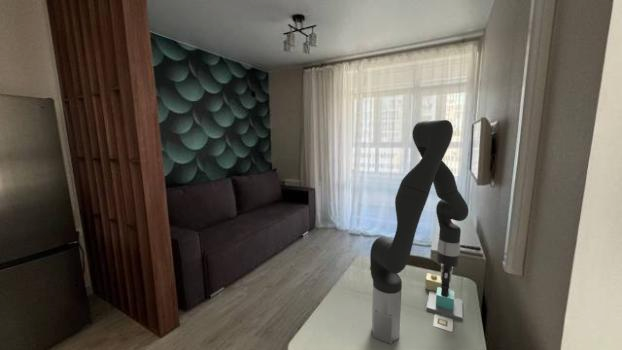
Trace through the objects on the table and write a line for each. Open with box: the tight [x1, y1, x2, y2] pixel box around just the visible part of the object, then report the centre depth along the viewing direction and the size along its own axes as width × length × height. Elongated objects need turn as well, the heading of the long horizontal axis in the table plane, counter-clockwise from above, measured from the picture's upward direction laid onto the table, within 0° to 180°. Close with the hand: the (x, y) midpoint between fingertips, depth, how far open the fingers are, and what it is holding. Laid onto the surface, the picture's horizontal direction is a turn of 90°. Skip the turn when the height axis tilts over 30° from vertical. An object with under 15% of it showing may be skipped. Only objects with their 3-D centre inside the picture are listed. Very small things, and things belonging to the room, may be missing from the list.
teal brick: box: [436, 287, 455, 310], centre depth 99 cm, size 6×6×6 cm
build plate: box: [426, 290, 464, 322], centre depth 100 cm, size 12×12×2 cm
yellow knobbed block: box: [425, 272, 442, 293], centre depth 112 cm, size 6×6×6 cm
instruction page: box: [432, 313, 454, 333], centre depth 91 cm, size 7×6×1 cm
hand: (444, 290), depth 99 cm, fingers open, 8 cm apart
